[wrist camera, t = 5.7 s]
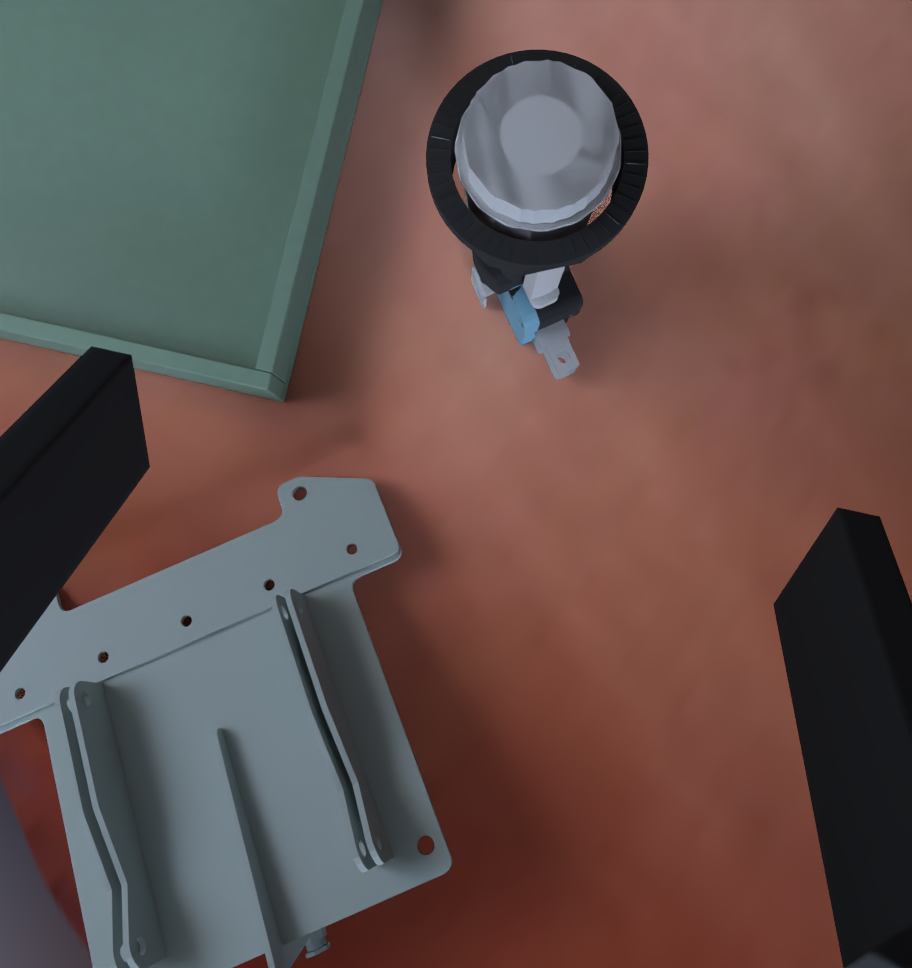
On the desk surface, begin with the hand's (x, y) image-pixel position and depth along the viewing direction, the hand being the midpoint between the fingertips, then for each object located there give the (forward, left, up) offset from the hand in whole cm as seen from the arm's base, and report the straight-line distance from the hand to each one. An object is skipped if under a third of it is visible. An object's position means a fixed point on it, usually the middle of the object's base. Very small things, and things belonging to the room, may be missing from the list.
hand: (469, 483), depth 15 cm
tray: (+12, +15, -12) cm, 23 cm away
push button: (+8, 0, -13) cm, 15 cm away
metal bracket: (-9, +6, -13) cm, 17 cm away
